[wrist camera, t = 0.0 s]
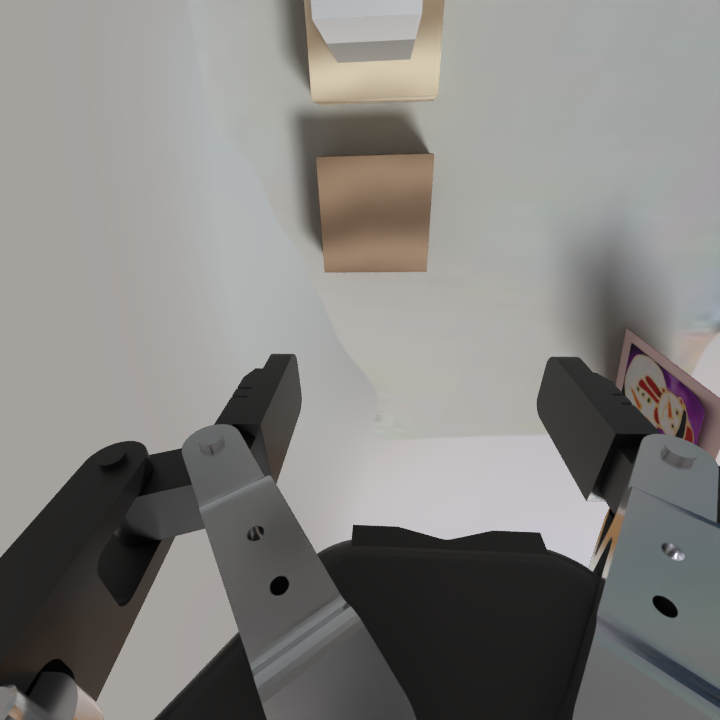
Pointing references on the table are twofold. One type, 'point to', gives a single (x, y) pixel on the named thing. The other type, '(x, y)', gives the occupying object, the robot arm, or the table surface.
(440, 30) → the birch stand
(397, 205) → the walnut stand
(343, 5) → the block
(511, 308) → the table surface
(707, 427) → the greeting card
